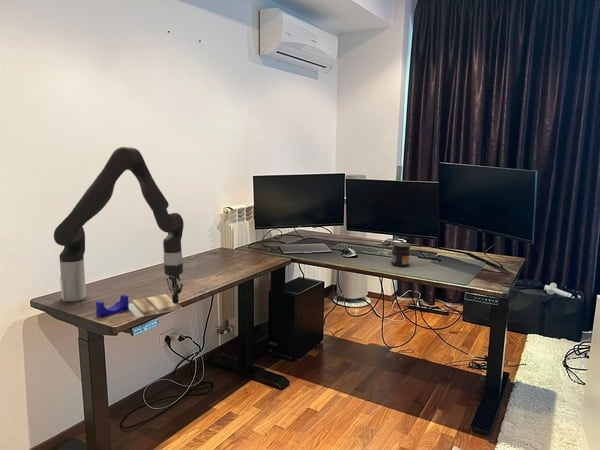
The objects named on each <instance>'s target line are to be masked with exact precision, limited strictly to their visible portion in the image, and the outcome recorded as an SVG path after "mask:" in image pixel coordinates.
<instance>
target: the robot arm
mask: <svg viewBox="0 0 600 450" xmlns="http://www.w3.org/2000/svg"><path fill="white" fill-rule="evenodd" d="M126 171H130V172H131V173H132V174H133V176H134V177H135V178H136V180H137V182H138V183H139V184H138V185H139V186H140V187H139V188H140V190H141V194H142V196H143V199H144V200H145V202H146V203H147V205H148V206H149V208H150V209H151V211H152V214H153V216H154V220H155V221H156V225H157V227H158V228H159V229H160V230H161V231H162V232H164V233H166V234H167V235H166V237H164V239H163V240H162V242H163V258H162V259H163V273H164V275H166V276H167V277H166V283H167V286H168V291H169V292H170V294H171V298H172V302H173V303H179V295H180V294H181V293H182V290H183V283H181V277H180V275H181V274H183V273H184V263H183V262H184V260H183V259H184V258H183V253H182V237H183V232H184V224H185V223H184V219H183V217H182V215H181V214H180V213H178V212H173V213H169V211H168V207H169V201H168V200H167V199H166V197H165V195H164V194H163V192H162V191H161V189H160V188H159V186H158V185H157V183H156V181H155V180H154V177H152V174H151V171H150V170H149V168H148V166H147V163H146V162H145V159H144V157H143V155H142V153H141V152H140V151H139V150H138V149H137V148H135V147H133V146H132V147H130V146H119V147H117V148H115V149H114V150H113V152H112V153H111V155H110V157H109V159H108V160H107V161H106V164H105V165H104V167H103V168H102V170H101V171H100V173H99V174H98V175H97V176H96V178H95V179H94V181H93V182H92V183H91V184H90V185H89V187H88V188H87V189H86V191H85V192H84V193H83V195H82V196H81V198H80V199H79V200H78V201H77V203H76V204H75V206H74V207H73V209H72V210H71V211H70V213H69V214H68V215H67V216H66V217H65V218H64V219H63V220H62V221H61V222H60V223H59V224H58V225H57V227H55V230H54V232H53V240H54V242H55V244H57V245H58V246H61V247H63V249H62V251H61V252H60V254H59V255H58V256H59V266H60V267H59V268H60V270H59V271H60V278H59V279H60V281H59V282H60V291H61V292H60V293H61V300H62V301H63V302H65V303H66V302H69V303H70V302H78V301H81V300H84V299H86V298H87V292H86V291H87V290H86V274H85V272H86V271H85V260H84V259H85V257H84V256H85V252H86V234H85V228H84V226H85V224H86V223H88V222H89V221H90V220H91V219H93V218H94V217H95V216H96V215H97V214H99V213H100V212H101V211H102V210H103V209H104V207H106V205H107V204H108V203H109V202H110V200H111V198H112V196H113V193H114V190H115V187H116V186H115V185H116V182H117V180H118V179H119V178H120V177H121V176H122V175H123V174H124V173H125V172H126Z"/></svg>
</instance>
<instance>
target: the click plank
mask: <svg viewBox="0 0 600 450" xmlns="http://www.w3.org/2000/svg"><path fill="white" fill-rule="evenodd" d="M145 299H146V300H147V301H148V302H149V303H150V304H151V305H152V306H153V307H155V308H156V311H157V312H158V313H159V312H164V311H169V310H174V309H179V308H180V306H181V304H180V303H179V302H178V303H173V302H172V296H170V295H169V294H168V293H164V294H159V295H154V296H149V297H145Z"/></svg>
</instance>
